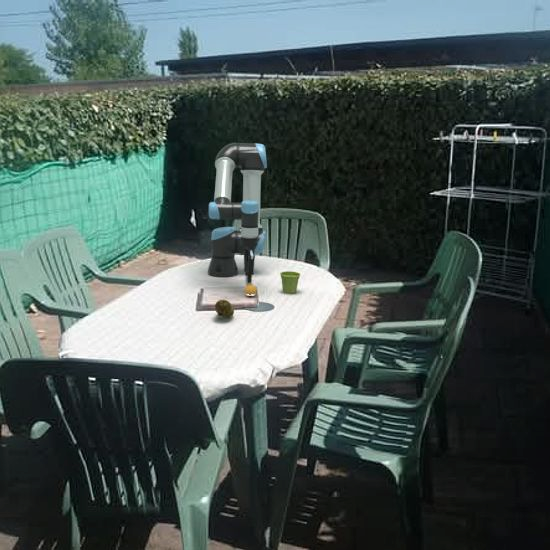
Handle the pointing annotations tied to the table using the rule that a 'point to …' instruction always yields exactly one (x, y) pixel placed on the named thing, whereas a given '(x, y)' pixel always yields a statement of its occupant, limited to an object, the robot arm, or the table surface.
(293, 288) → the plant pot
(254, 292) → the ball
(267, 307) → the disc
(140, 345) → the table surface
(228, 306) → the potato
